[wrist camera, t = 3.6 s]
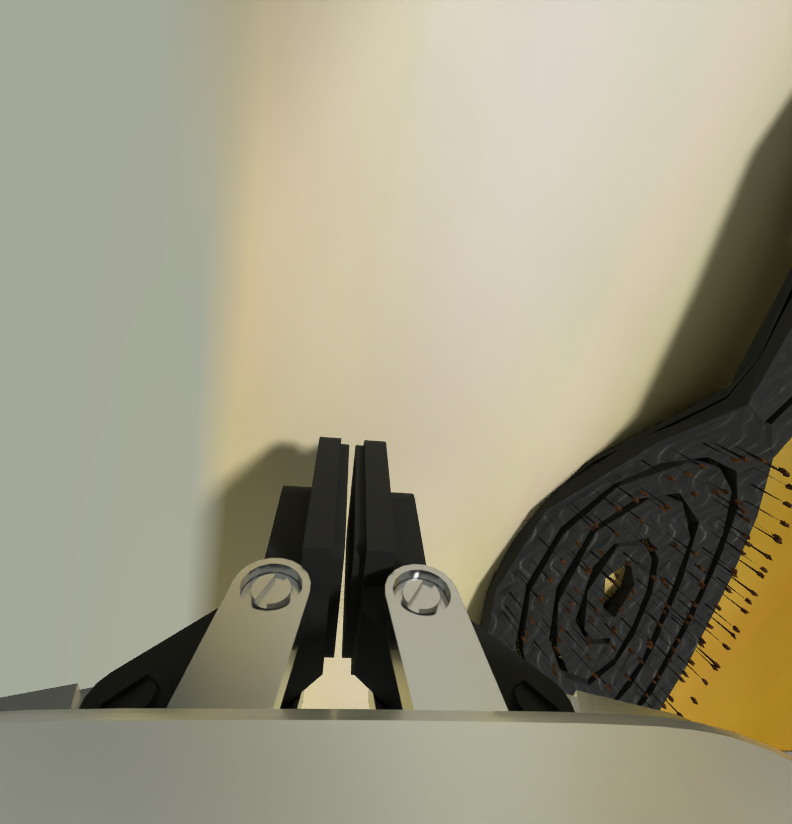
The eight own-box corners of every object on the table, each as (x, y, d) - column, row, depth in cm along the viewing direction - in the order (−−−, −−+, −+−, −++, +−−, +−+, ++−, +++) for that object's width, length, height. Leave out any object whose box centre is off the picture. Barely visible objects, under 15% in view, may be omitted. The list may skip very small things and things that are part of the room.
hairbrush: (1409, -106, 7) (676, 813, 17) (1078, -9, 11) (623, 711, 20) (1001, -338, 6) (457, 802, 16) (770, -143, 9) (439, 695, 19)
